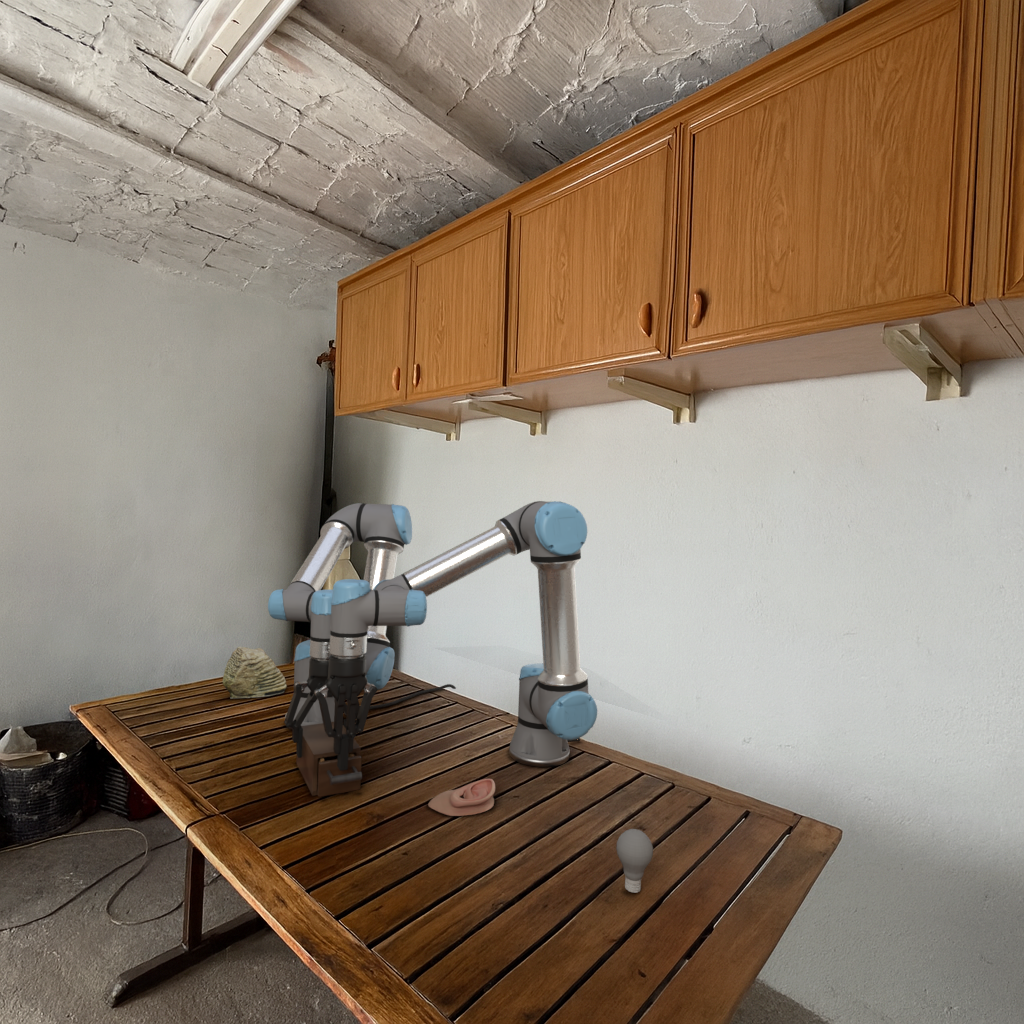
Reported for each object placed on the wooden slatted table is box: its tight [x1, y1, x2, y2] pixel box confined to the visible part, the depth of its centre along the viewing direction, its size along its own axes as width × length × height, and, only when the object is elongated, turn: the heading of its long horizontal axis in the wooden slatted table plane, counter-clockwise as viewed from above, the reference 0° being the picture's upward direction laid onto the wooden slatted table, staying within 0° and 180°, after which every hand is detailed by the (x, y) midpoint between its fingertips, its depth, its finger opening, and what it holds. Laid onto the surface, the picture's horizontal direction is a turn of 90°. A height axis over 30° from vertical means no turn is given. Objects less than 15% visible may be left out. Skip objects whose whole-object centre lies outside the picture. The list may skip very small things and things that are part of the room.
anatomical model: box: [427, 778, 496, 817], centre depth 133 cm, size 13×4×12 cm
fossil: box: [222, 646, 288, 699], centre depth 198 cm, size 9×18×15 cm, turn 132°
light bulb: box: [615, 828, 654, 894], centre depth 106 cm, size 6×6×10 cm
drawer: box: [316, 753, 363, 798], centre depth 139 cm, size 22×9×7 cm, turn 29°
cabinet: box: [295, 722, 362, 797], centre depth 144 cm, size 18×10×9 cm, turn 29°
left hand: (322, 751), depth 148 cm, fingers closed on cabinet, 10 cm apart
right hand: (342, 767), depth 132 cm, fingers closed
